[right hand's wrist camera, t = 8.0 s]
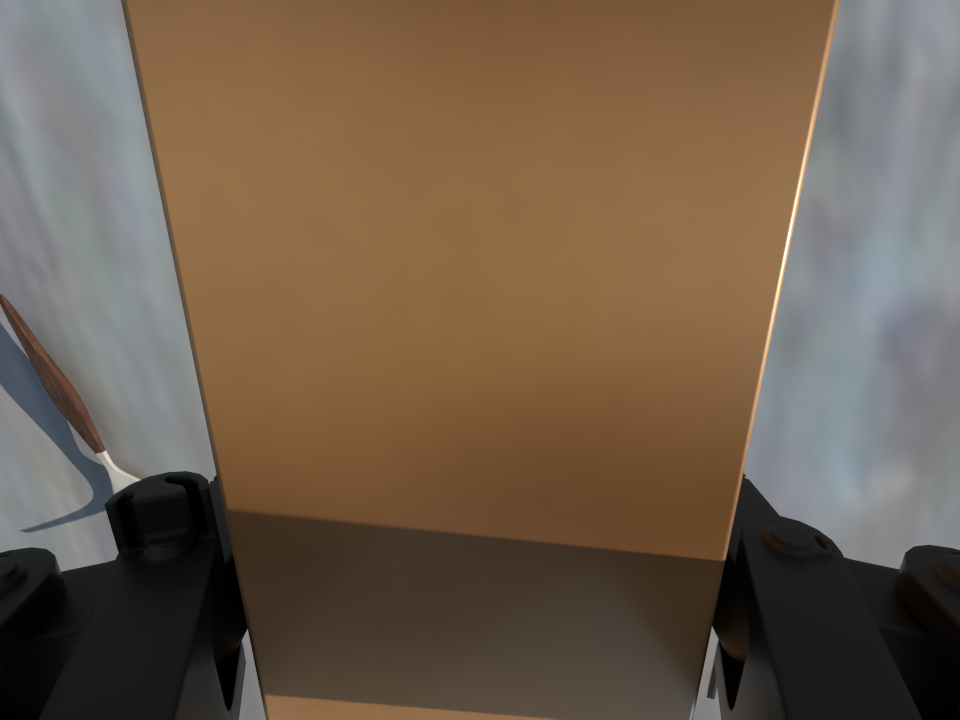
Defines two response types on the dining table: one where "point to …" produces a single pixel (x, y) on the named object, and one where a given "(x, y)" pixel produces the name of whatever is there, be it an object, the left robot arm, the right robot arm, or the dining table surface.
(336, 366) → the box
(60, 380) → the fork
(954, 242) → the dining table surface
